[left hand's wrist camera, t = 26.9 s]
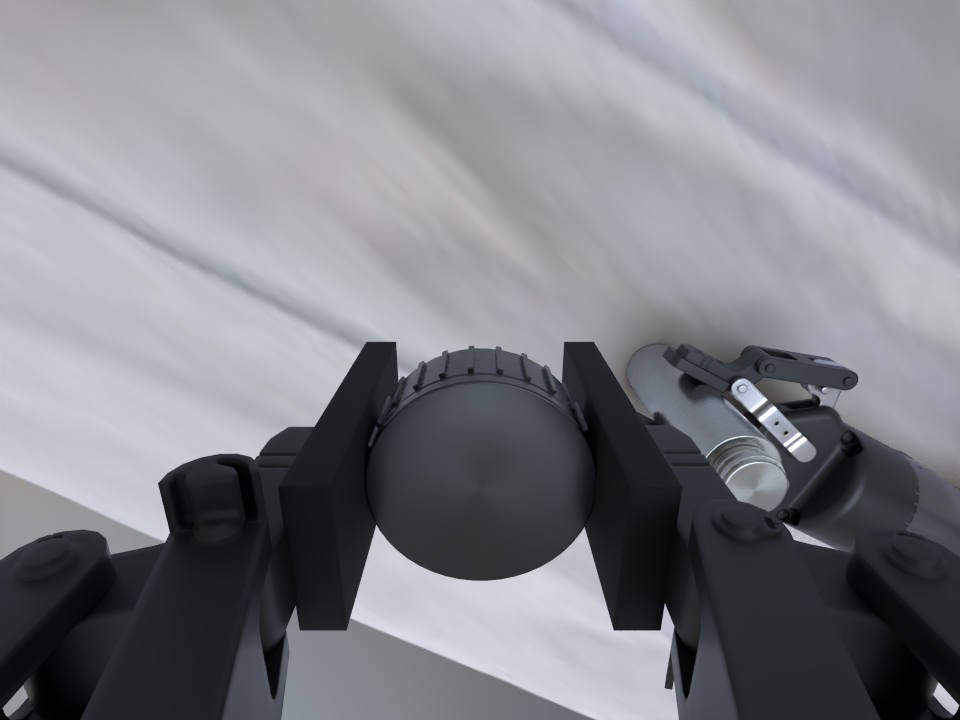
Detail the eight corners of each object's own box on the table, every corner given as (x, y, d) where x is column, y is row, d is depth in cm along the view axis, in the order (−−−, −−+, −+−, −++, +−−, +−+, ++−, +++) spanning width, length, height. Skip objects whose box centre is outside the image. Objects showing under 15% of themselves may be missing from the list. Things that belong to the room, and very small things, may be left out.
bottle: (669, 334, 39) (784, 436, 24) (690, 380, 40) (811, 504, 25) (617, 359, 39) (698, 474, 25) (639, 403, 41) (728, 539, 26)
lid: (338, 397, 11) (313, 439, 10) (535, 308, 11) (545, 336, 9) (436, 553, 13) (429, 613, 11) (615, 483, 12) (636, 535, 10)
